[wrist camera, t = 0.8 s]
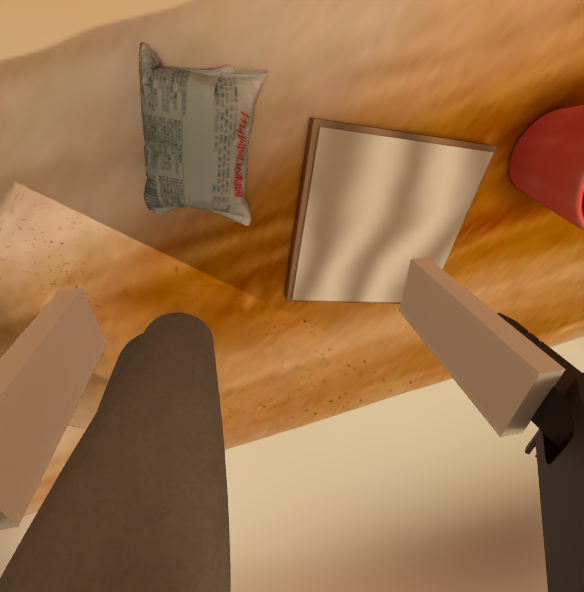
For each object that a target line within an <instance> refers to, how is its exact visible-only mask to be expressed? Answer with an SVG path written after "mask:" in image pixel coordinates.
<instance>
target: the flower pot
mask: <svg viewBox="0 0 584 592" xmlns="http://www.w3.org/2000/svg"><path fill="white" fill-rule="evenodd" d="M509 176H510V179H511V181H512V183H513V184H514V185H515V186H516V187H517V188H518V189H520V190H521V191H523V192H524V193H526V194H527V195H529V196H530V197H532V198H533V199H535V200H536V201H538V202H539V203H541V204H542V205H544V206H545V207H547V208H549V209H550V210H552V211H553V212H555V213H556V214H558V215H560V216H561V217H563V218H564V219H566V220H568V221H569V222H571V223H573V224H574V225H576V226H578V227H579V228H581V229H583V230H584V104H583V105H578V106H573V107H568V108H562V109H557V110H554V111H551V112H549V113H547V114H545V115H543V116H542V117H540V118H539V119H537V120H536V121H535V122H534V123H533V124H532V125H531V126H530V127H529V128H528V129H527V130H526V131H525V132H524V133H523V134H522V136H521V137H520V138H519V140H518V142H517V143H516V145H515V147H514V149H513V152H512V154H511V158H510V162H509Z"/></svg>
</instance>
